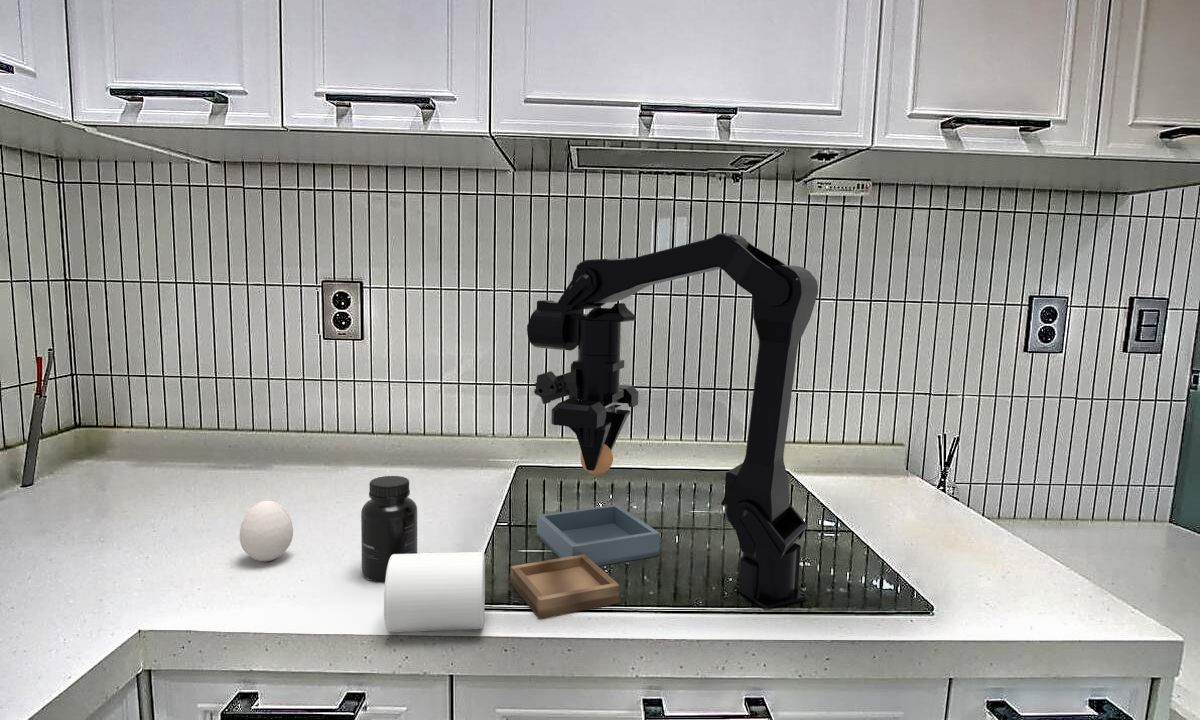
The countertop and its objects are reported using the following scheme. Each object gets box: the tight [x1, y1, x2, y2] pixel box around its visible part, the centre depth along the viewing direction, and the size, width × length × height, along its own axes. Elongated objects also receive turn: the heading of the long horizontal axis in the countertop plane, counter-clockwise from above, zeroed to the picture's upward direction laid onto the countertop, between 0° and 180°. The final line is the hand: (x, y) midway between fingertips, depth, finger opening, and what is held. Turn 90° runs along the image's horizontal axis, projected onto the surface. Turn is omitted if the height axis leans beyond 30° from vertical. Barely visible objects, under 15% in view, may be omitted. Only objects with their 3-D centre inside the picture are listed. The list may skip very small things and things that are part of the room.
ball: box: [580, 444, 614, 476], centre depth 99 cm, size 4×4×4 cm
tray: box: [510, 554, 621, 620], centre depth 87 cm, size 10×10×2 cm
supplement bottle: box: [360, 475, 418, 583], centre depth 91 cm, size 7×7×12 cm
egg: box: [239, 500, 294, 562], centre depth 94 cm, size 6×6×8 cm
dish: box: [536, 503, 661, 567], centre depth 102 cm, size 13×13×3 cm
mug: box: [383, 551, 486, 633], centre depth 80 cm, size 12×10×8 cm
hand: (596, 465), depth 100 cm, fingers closed on ball, 4 cm apart
